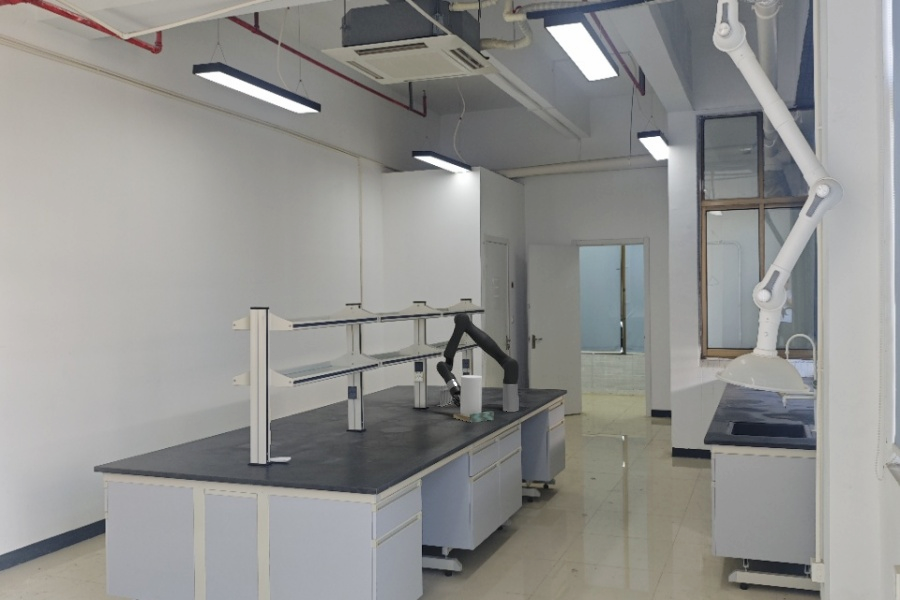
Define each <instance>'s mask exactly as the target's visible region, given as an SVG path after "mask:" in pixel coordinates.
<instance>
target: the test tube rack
mask: <svg viewBox="0 0 900 600" xmlns="http://www.w3.org/2000/svg"><path fill="white" fill-rule="evenodd" d="M436 391H437V392H438V391H439V404H438V405H436V407H437V406H445V405H448V404H447V403H449V402H450V403H449V404H451V400H452V399H453V397H452V396H451V394H450V392H449V390H448V388H447V385H446V384H444V385H441V386H440V388H439V389H436ZM451 405H452V404H451ZM448 406H449V405H448ZM445 407H446V406H445Z"/></svg>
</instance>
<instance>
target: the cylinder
mask: <svg viewBox="0 0 900 600" xmlns="http://www.w3.org/2000/svg"><path fill="white" fill-rule="evenodd" d="M460 386H461V402H460V410H459V411H460V413H459V414H460V415H465V416H469V417H470V414H472V413H481V412H482V406H483V404H482V401H483V397H482V395H483V394H482V393H483V376H482V375H475V374H474V375H473V374H466V375H465V374H464V375H461V376H460Z"/></svg>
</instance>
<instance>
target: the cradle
mask: <svg viewBox="0 0 900 600" xmlns="http://www.w3.org/2000/svg"><path fill="white" fill-rule="evenodd" d="M494 414H495V412H494V411H484V412H482V411H481V413H472V414H470V417H469V416H465V415H460V413H456V412H455V413H453V419H454V418H456V419H455V420H458V419H460V420H459V421H462V420H463V422H466V421H467V423H470V422H471V424H472V422H474V423H481V421H482V422H488V421H487V420H491V421H494V420H495V419H494V417H495V416H494Z"/></svg>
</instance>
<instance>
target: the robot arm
mask: <svg viewBox="0 0 900 600" xmlns="http://www.w3.org/2000/svg"><path fill="white" fill-rule="evenodd" d="M453 322H454V329H453V331H452V334H451V335H450V338H449V341H447V344H446V346H445V349H444V352H443V353H442V355H443V358H445V359H444V360H445V361H442V360H441V361H439V362H437V364H436V366H435V367H436V372H437V373H438V374H439V375H440V377H441V378H442V380H443V381H444V383H445V385H447V386H446V387H447V388H448V390H449V392H450V394H451V396H452V397H453V399H452V400H451V402H452V403H453V404H454V405H455V406H456V407H457V408H459V407H460V402H461V383H459V381H458V379H457V377H456V376H455V374H454V373H453V372H452V371H453V369H454V363H455V356H456V353H457V352H458V349H459V348H458V347H459V345H460V343H461V339H462V337H463V335H464V333H465V334H467V335H468V336H469V338H470V339H471V340H472V341H473V342H474V343H475V345H477V346H478V347H479V348H480V349H481V350H482V351H483V352H485V354H487V355H488V356H489V357H491V358H492V359H493V360H495V361H496V362H497V364H498V365H499V366H500V367H501V368H502V369H503V379H502V411H503V412H506V411H507V413H512V412H513V413H514V412H517V411H519V410H520V407H519V405H520V404H519V403H520V401H519V400H520V399H519V398H520V396H519V395H518V394H519V393H518V391H519V390H518V381H519V375H520V374H519V369H520V366H519V361H517V360H516V359H515V358H512V357H511V356H509V354H506V353H505V352H504V351H503V350H502V349H501V347H500V346H499V344H498V343H497V342H496V341H495V340H494V339H493V338H492V337H491V336H490V335H489V334H488V333H487V332H485V331H484V330H483V329H481V328H480V327H477V325H475V324H474V323H473V322H472V320H471V319H470V316H469V315H468V314H466V313H464V312H459V313H457V314H455V316H454V317H453ZM453 404H452V405H453Z"/></svg>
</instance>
